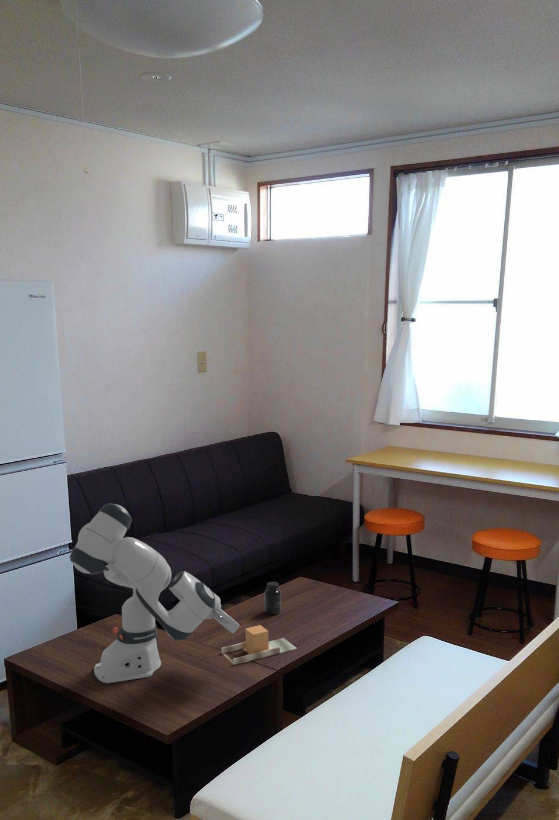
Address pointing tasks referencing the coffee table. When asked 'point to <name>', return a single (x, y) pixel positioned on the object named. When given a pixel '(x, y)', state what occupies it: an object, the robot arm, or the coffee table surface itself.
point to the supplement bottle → (272, 599)
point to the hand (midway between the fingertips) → (234, 627)
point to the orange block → (256, 639)
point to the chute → (274, 648)
